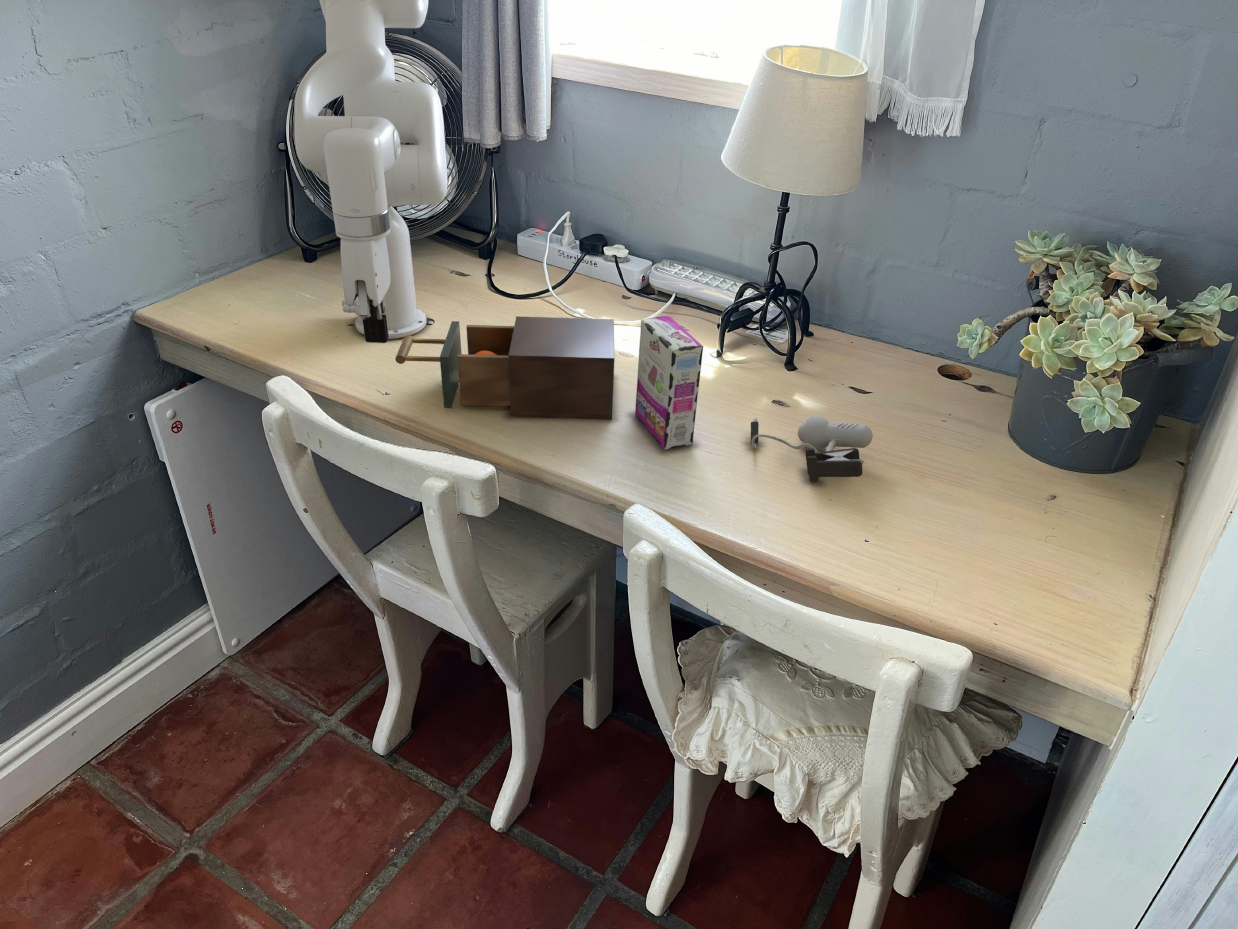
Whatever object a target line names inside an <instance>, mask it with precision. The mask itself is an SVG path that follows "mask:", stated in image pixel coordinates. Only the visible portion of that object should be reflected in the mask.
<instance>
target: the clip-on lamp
mask: <svg viewBox="0 0 1238 929" xmlns="http://www.w3.org/2000/svg"><path fill="white" fill-rule="evenodd" d="M759 428H760V427H759V421H758V418H757V417H754V418H753V420H752V421H751V422H750V444H751V448H752V449H756V448H757V445H758V444H759V438H767V439H771V440H774V441H777V442H780V443H781V444H784V445H786V446H788V447H790V448H791V449H794V450H799V449H803V448H805V461H806V462H805V463H806V472H807V475H808V480H809V482H810V483H818V482H819V481H820V480H819V479H820V478H859V477H862V476H863V471H864V470H863V464H864V463H865V460H864V459H862V458H861V457H860V450H859V449H864V448H867V447H868V446H869V445H870V444H871V443H872V441H873V431H872V429H871V428H870V426H869V425H867V424H866V423H865V424H864V423H850V422H835V421H829V420H828V419H827V418H825V417H823V416H821V415H812V416H808V417H807V418H806V420H805V422H802V423H801V424H800V426H799V427H798V429H797V436H798V439H799V441H800V442H802V443H801V444H798V445H794V444H791V443H790V442H788V441H786V440H784V439H782V438H780V437H777V436H773V435H768V434H761V433H759ZM836 447H839V448H841V449H835V448H836ZM842 448H843V449H842ZM823 449H825V451H821V450H823Z"/></svg>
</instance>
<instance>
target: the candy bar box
mask: <svg viewBox="0 0 1238 929" xmlns="http://www.w3.org/2000/svg"><path fill="white" fill-rule="evenodd" d="M703 351H704V345H703V344H702V343H700V342H699V341H698V340H697V339H696V338H695V337H693V336H692V335H691V334H690V333H689V331H687V330H686V329H685V328H684V327H683V326H682V325H680V324H679V323H678V322H677V321H676V320H675V319H674V318H673V317H671V316H670V315H663V316H655V317H650V318H643V319H640V337H639V347H638V364H637V380H636V392H635V393H636V396H635V408H634V409H635V412H634V415H635V417H636V418H637V419H638V420H639V421H640V423H641V424H642V425H643V426H644V428H646V430H647V431H648V432H649V433H650V434H651V436H652V437H653V438H654V439H655V440H656V441H657V443H658V444H659V445H660V446H661V448H663V450H664V451H669V450H673V449H680V448H684V447H689V446H693V444H694V443H693V442H694V432H695V424H696V415H697V406H698V396H699V388H700V381H701V380H700V379H701V372H702V371H701V369H702V362H703V353H704V352H703Z"/></svg>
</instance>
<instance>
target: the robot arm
mask: <svg viewBox="0 0 1238 929" xmlns="http://www.w3.org/2000/svg"><path fill="white" fill-rule="evenodd" d="M318 1H319V5H320V8H321V11H322V15H323V17H324V21H325V45H326V46H325V47H326V48H325V50H326V52H325V53H324V54H323V55H322V56H321V57H320V58H318V59H317V60H316V62H314V63H313V65H311V67H310V68H309V69H308V71H307V72H306V73H305V74H304V76H303V77H302V79H301V81H300V82H299V85H298V86H297V89H296V92H295V97H294V110H293V111H294V117H293V118H294V121H293V122H294V123H293V126H294V127H293V133H294V146H295V150H296V151H295V152H296V155H297V158H298V159H299V162H300V163H301V165H303V167H304V168H305V169H306V170H308V171H311V172H315V173H326V175H327V182H328V188H329V195H330V202H331V208H332V216H333V223H334V230H335V235H336V237H338V238H339V239H340V264H341V265H340V266H341V278H342V288H343V297H342V299H341V306H342V311H343V313H348V314H351V313H353V314H355V315H356V317H355V319H354V324H355V328H356V331H358V332H359V334H362V335H364V341H365V342H366V343H370V344H371V343H373V344H374V343H375V344H376V343H377V344H385V343H387V341H388V340H394V339H395V340H396V339H400V338H404V337H405V336H406V335H410V336H412V335H415V334H418V333H419V332H420V331H422V330H423V329H424V328H425V327H426V325H427V324H428V322H427V320H428V319H427V315H426V314H425V312H424V311H422V310H421V309H420V308H417V307H418V306H417V298H416V288H415V278H414V268H413V257H412V248H411V237H410V236H411V235H410V230H409V227H408V225H407V222H406V221H405V220H404V218H403V217H402V216H401V215H400V214H399V212H398V211H397V210H396V209H395V208H394V207H397V206H428V205H436V204H439V203H441V202H443V201H444V200H445V198H446V196H447V192H448V167H447V164H448V163H447V152H446V139H445V138H446V137H445V136H446V135H445V123H444V114H443V106H442V102H441V98H440V96H439V93H438V91H437V90H436V89H435V87H434V86H432V85H431V84H429V83H426V82H422V81H397V80H396V74H395V72H396V71H395V58H394V55H393V54H392V51H391V50H390V48H388V46H387V45H386V34H385V33H386V30H385V29H419V28H421V27H422V26H423V25H424V23H425V22H426V18H427V14H428V9H429V0H318ZM342 96H343V111H344V112H343V113H344V115H319V114H320V112H321V111H322V110H323V109H324V108H325V107H326V106H327V105H328V104H329V103H330V102H332V101H334V100H335V99H338V98H339V97H342ZM403 143H404V144H403ZM409 143H410V144H409Z"/></svg>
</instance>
